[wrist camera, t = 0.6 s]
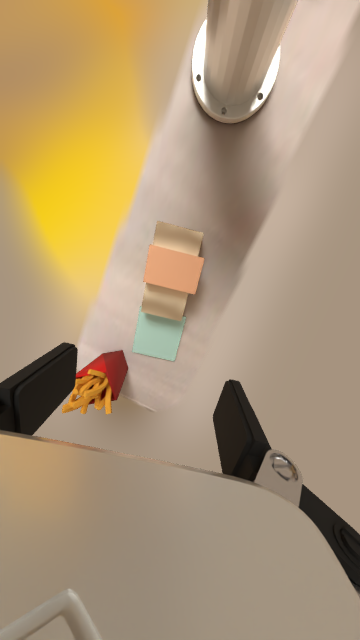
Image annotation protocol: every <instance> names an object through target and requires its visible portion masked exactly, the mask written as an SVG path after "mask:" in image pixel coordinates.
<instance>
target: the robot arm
mask: <svg viewBox="0 0 360 640" xmlns="http://www.w3.org/2000/svg"><path fill="white" fill-rule="evenodd" d="M297 2H298V0H208V8H207V18H206V20H205V22H204V23H203V25H202V27H201V28H200V31H199V33H198V36H197V38H196V42H195V45H194V49H193V57H192V82H193V87H194V91H195V95H196V97H197V99H198V102H199V103H200V105H201V107H202V108H203V110H204V111H205V112H206V113H207V114H208V115H209V116H211V117H212V118H214V119H215V120H217V121H220V122H223V123H237V122H240V121H243V120H246V119H247V118H249V117H250V116H252V115H253V114H254V113H255V112H256V111H258V110H259V109H260V107H261V106H262V105H263V103H264V102H265V101H266V99H267V97H268V95H269V93H270V92H271V89H272V87H273V85H274V83H275V80H276V77H277V73H278V70H279V63H280V42H281V40H282V37H283V35H284V33H285V30H286V28H287V26H288V23H289V21H290V18H291V16H292V14H293V11H294V9H295V7H296V4H297ZM223 114H224V115H223ZM77 351H78V350H77V348H76V347H75V345H74V344H69V343H62V344H60V345H59V346H57V347H56V348H54V349H53V350H51V351H49V352H48V353H46V354H45V355H43V356H42V357H40V358H38V359H37V360H35V361H34V362H32V363H31V364H29V365H28V366H26V367H24V368H23V369H21V370H20V371H18V372H17V373H15V374H14V375H12V376H10V377H9V378H7V379H6V380H4V381H3V382H1V383H0V640H360V535H359V534H358V533H357V532H356V531H355V530H354V529H353V528H352V527H351V526H350V525H349V524H348V523H346V522H345V521H344V520H343V519H342V518H341V517H340V516H338V515H337V514H336V513H335V512H334V511H333V510H332V509H330V508H329V507H328V506H327V505H326V504H325V503H324V502H323V501H321V500H320V499H319V498H318V497H317V496H316V495H315V494H313V493H312V492H311V491H310V490H309V489H307V487H305V486H304V485H303V484H302V475H301V472H300V471H299V469H298V467H297V466H296V464H295V463H294V462H293V461H292V460H291V459H290V458H289V457H288V456H287V455H285V454H284V453H282V452H280V451H278V450H273V449H271V447H270V445H269V443H268V441H267V438H266V436H265V434H264V432H263V430H262V428H261V426H260V424H259V421H258V419H257V417H256V415H255V413H254V411H253V409H252V407H251V405H250V403H249V401H248V399H247V397H246V395H245V392H244V390H243V388H242V386H241V384H240V382H239V381H235V380H229V381H226V382H225V385H224V387H223V390H222V393H221V395H220V398H219V401H218V403H217V406H216V409H215V411H214V414H213V422H214V427H215V433H216V439H217V444H218V450H219V456H220V461H221V467H222V472H223V474H221V473H216V472H212V471H207V470H203V469H198V468H194V467H189V466H184V465H179V464H174V463H170V462H164V461H159V460H155V459H150V458H145V457H140V456H135V455H130V454H125V453H120V452H115V451H110V450H104V449H100V448H95V447H89V446H84V445H79V444H74V443H69V442H63V441H58V440H53V439H48V438H42V437H37V436H32V435H33V434H34V433H35V432H36V431H37V429H38V428H39V427H40V426H41V425H42V424H43V423H44V421H46V419H47V418H48V417H49V416H50V415H51V414H52V413H53V411H54V410H55V409H56V408H57V407H58V406H59V405H60V404H61V403H62V402H63V400H64V399H65V398H66V397H67V396H68V395H69V394H70V392H71V391H72V390H73V389H74V387H75V383H76V367H77Z"/></svg>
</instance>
